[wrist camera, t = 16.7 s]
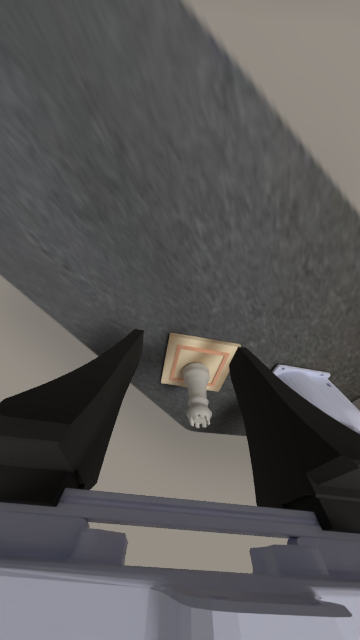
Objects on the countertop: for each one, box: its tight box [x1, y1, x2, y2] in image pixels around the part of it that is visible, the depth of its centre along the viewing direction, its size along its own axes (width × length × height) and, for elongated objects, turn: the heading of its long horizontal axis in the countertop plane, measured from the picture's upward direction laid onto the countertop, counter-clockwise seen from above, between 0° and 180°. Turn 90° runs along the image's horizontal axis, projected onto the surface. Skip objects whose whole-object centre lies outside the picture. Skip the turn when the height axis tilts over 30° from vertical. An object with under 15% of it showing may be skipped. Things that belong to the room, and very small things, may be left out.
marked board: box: [161, 332, 241, 392], centre depth 24 cm, size 11×11×1 cm
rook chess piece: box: [183, 362, 212, 428], centre depth 21 cm, size 4×4×8 cm
